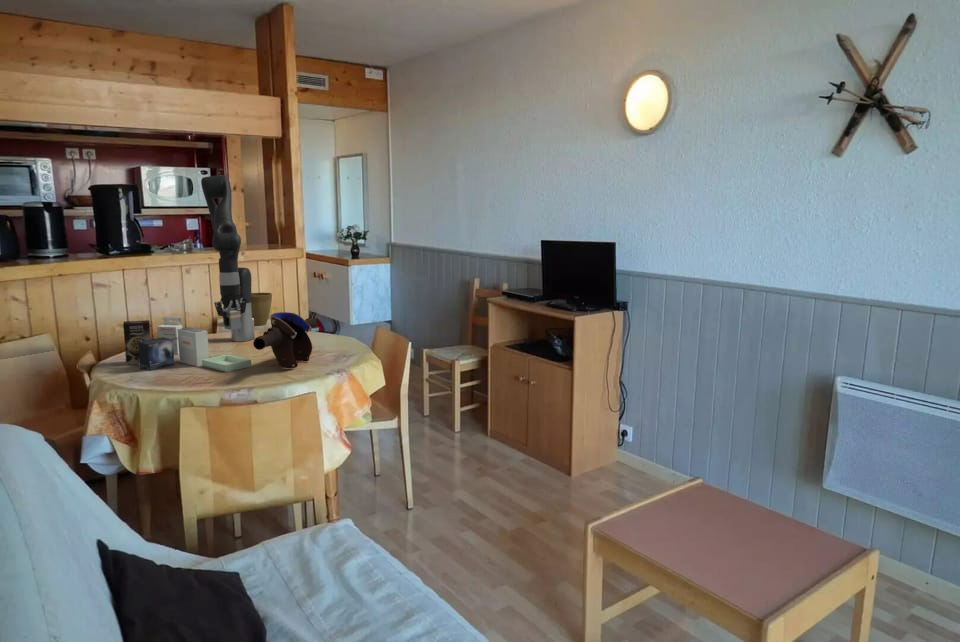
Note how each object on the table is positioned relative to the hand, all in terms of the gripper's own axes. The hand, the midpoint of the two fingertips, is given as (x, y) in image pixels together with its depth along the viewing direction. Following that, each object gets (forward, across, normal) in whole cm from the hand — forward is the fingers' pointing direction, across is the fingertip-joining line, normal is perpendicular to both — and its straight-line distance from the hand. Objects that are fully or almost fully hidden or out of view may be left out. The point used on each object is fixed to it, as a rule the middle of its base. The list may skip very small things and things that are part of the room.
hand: (232, 324), depth 257 cm
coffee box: (+13, +28, -22) cm, 37 cm away
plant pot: (+15, -52, -52) cm, 75 cm away
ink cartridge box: (+13, +11, -26) cm, 32 cm away
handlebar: (+13, -4, +29) cm, 32 cm away
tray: (+13, +12, +12) cm, 21 cm away
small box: (+13, +28, -8) cm, 32 cm away
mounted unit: (+13, +16, -3) cm, 21 cm away
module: (+1, 0, 0) cm, 1 cm away
